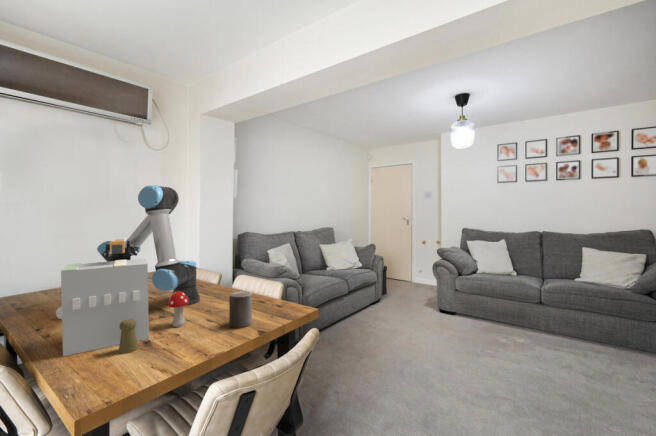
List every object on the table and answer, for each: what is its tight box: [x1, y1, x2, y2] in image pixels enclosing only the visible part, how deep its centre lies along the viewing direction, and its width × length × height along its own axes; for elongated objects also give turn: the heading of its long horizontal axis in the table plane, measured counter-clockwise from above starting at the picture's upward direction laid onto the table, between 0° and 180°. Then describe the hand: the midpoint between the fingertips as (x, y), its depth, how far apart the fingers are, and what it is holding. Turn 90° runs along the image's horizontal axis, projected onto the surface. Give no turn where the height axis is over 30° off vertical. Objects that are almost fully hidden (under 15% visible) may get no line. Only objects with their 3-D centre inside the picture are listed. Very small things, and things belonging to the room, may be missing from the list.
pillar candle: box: [228, 290, 253, 329], centre depth 135 cm, size 10×10×15 cm
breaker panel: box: [60, 258, 150, 357], centre depth 119 cm, size 17×26×30 cm, turn 124°
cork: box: [118, 319, 139, 355], centre depth 111 cm, size 6×6×11 cm
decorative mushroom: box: [167, 291, 189, 328], centre depth 135 cm, size 10×9×15 cm
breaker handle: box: [109, 239, 125, 254], centre depth 130 cm, size 26×5×5 cm, turn 32°
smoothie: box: [55, 305, 62, 320], centre depth 145 cm, size 6×6×14 cm
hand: (119, 239), depth 134 cm, fingers closed on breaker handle, 3 cm apart
